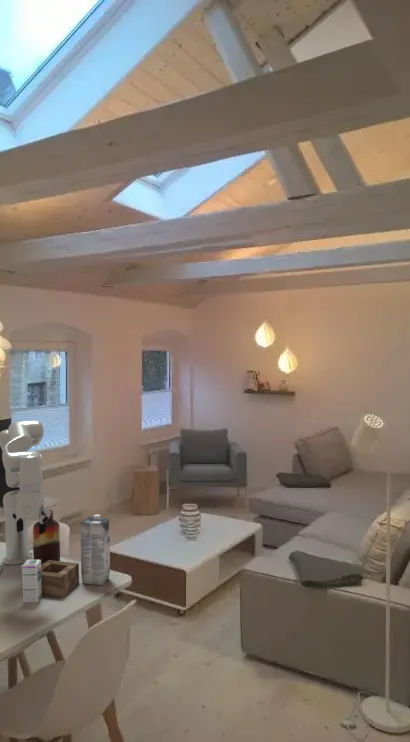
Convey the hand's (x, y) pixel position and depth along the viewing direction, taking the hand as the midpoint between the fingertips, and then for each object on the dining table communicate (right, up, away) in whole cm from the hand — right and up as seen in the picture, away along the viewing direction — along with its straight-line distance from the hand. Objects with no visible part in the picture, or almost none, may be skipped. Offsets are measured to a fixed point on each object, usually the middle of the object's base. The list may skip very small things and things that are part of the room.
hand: (31, 532), depth 208 cm
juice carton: (+21, -26, +18) cm, 37 cm away
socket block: (+6, -26, +11) cm, 29 cm away
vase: (-2, -25, +28) cm, 38 cm away
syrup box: (0, -26, +2) cm, 26 cm away
